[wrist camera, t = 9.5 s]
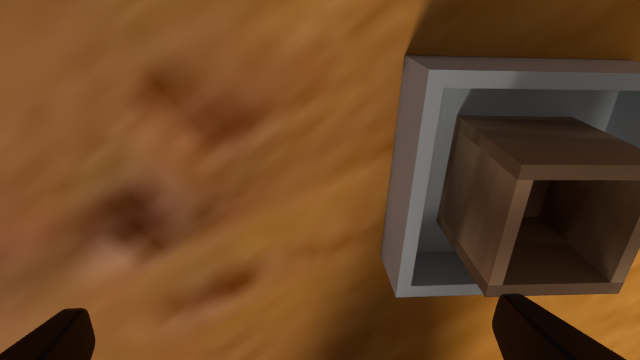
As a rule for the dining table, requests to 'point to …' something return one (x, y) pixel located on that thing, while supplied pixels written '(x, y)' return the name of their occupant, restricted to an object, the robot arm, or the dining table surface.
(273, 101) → the dining table surface
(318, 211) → the dining table surface
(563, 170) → the walnut crate
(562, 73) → the grey crate
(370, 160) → the dining table surface
